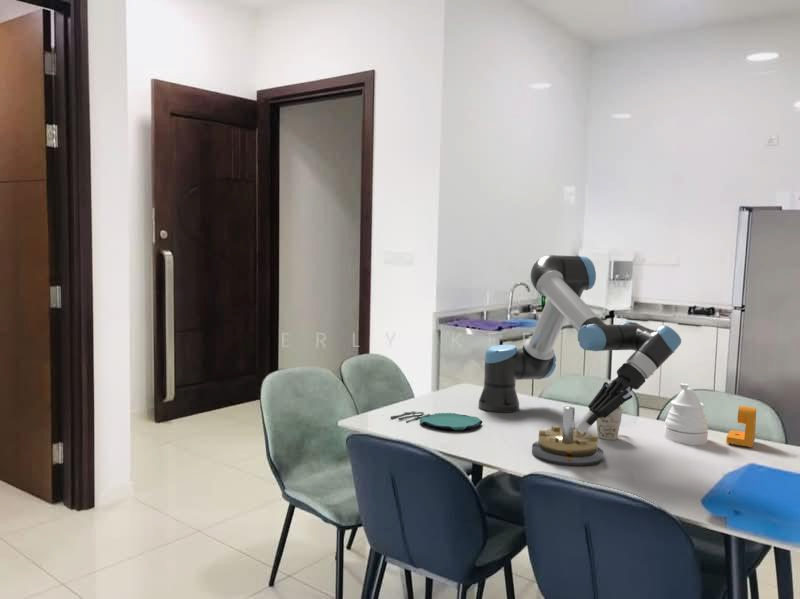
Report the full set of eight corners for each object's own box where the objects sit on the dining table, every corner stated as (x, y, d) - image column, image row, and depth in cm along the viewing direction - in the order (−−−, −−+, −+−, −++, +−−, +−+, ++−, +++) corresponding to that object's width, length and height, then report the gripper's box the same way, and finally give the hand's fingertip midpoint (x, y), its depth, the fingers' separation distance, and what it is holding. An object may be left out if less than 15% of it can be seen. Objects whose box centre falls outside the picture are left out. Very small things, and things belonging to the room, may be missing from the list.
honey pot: (686, 446, 207) (689, 389, 206) (655, 435, 219) (658, 381, 218) (716, 442, 213) (719, 386, 211) (684, 432, 224) (687, 379, 223)
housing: (523, 459, 189) (524, 451, 188) (541, 441, 207) (541, 434, 207) (596, 471, 180) (597, 463, 180) (607, 452, 198) (608, 444, 198)
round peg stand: (527, 441, 198) (529, 397, 197) (575, 437, 204) (577, 395, 203) (558, 457, 183) (561, 411, 182) (609, 453, 188) (612, 408, 187)
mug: (589, 436, 215) (590, 406, 214) (606, 430, 224) (608, 400, 223) (613, 442, 209) (615, 411, 208) (630, 435, 218) (632, 405, 217)
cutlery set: (461, 436, 211) (462, 429, 211) (385, 421, 228) (385, 415, 228) (491, 425, 227) (491, 418, 227) (417, 412, 244) (418, 405, 244)
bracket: (729, 437, 219) (732, 401, 218) (754, 441, 215) (757, 405, 214) (725, 445, 210) (728, 407, 209) (751, 449, 206) (754, 411, 205)
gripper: (656, 384, 183) (597, 446, 181) (632, 376, 195) (576, 434, 194) (639, 365, 181) (579, 427, 180) (616, 358, 194) (560, 416, 192)
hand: (578, 430), depth 187 cm, fingers closed
